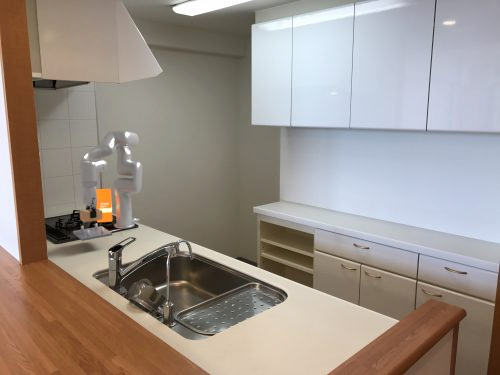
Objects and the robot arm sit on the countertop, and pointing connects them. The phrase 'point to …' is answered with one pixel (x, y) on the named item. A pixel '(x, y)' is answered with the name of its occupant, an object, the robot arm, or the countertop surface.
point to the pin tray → (92, 233)
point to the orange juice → (104, 204)
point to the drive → (86, 215)
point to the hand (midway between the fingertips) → (91, 216)
